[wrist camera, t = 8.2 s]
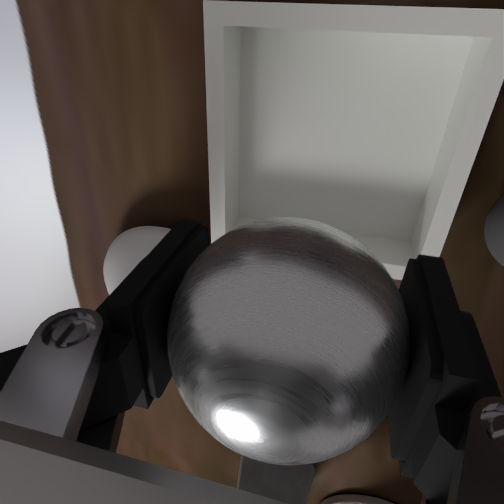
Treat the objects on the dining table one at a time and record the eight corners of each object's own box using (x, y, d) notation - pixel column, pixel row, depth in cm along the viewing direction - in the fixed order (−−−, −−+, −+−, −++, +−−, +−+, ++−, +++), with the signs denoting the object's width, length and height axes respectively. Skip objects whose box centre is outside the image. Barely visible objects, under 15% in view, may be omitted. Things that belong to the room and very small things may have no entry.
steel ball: (424, 195, 9) (482, 371, 5) (376, 351, 12) (383, 551, 8) (211, 169, 10) (88, 292, 6) (216, 318, 13) (138, 476, 9)
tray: (421, 250, 26) (429, 284, 23) (228, 222, 29) (211, 248, 25) (499, 11, 18) (529, 9, 15) (228, 3, 21) (203, 0, 18)
